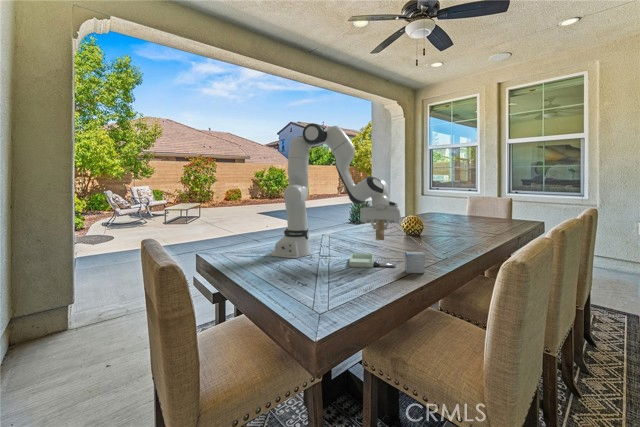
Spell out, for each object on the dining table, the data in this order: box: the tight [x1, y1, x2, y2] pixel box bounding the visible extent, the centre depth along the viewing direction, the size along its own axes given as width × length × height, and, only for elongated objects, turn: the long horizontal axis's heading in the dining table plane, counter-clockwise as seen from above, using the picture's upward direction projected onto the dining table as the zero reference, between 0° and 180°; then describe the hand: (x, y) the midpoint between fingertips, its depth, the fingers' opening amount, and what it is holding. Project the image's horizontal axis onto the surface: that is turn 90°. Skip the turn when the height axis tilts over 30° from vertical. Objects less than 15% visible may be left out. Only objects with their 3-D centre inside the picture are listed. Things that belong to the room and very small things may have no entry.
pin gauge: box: [373, 261, 397, 268], centre depth 145 cm, size 10×2×2 cm, turn 79°
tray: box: [348, 253, 375, 269], centre depth 151 cm, size 11×15×2 cm
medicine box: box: [404, 251, 426, 274], centre depth 136 cm, size 8×4×9 cm, turn 84°
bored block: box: [375, 221, 385, 241], centre depth 151 cm, size 4×4×9 cm
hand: (379, 228), depth 151 cm, fingers closed on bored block, 4 cm apart
